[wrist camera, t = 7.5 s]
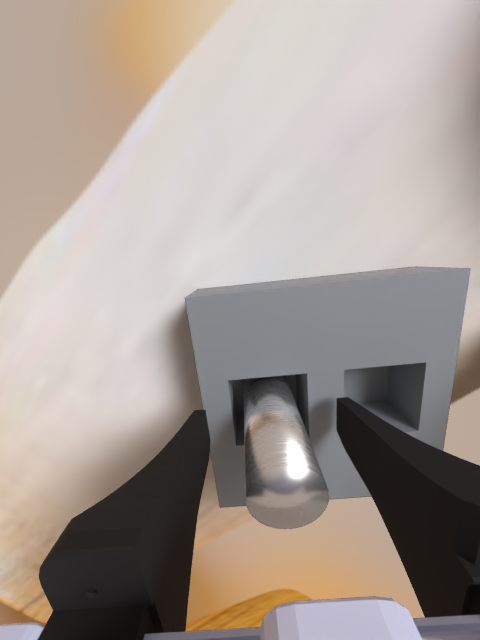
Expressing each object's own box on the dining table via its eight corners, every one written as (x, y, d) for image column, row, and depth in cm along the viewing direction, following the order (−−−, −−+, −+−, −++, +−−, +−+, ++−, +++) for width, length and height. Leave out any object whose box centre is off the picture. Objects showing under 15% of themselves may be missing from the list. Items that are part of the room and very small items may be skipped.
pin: (286, 361, 15) (332, 465, 8) (285, 399, 16) (325, 528, 9) (242, 362, 16) (244, 467, 8) (243, 400, 16) (246, 530, 9)
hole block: (416, 266, 14) (470, 268, 11) (399, 447, 18) (437, 491, 14) (197, 289, 15) (184, 297, 11) (223, 461, 18) (219, 507, 15)
